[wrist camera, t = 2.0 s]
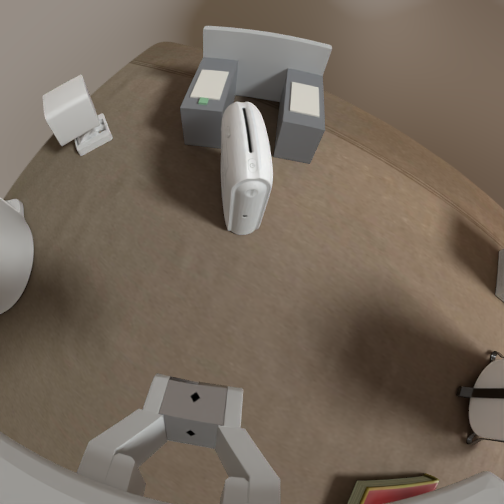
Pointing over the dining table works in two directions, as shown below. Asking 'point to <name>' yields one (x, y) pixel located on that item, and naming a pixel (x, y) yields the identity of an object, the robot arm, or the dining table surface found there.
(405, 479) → the hardcover book
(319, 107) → the module bay
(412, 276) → the dining table surface
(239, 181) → the photo printer
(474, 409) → the coffee press
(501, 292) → the supplement box
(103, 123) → the security camera
